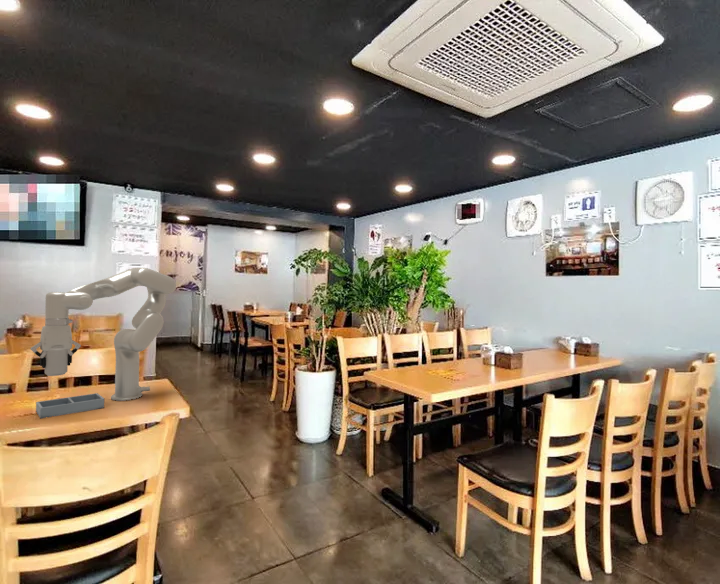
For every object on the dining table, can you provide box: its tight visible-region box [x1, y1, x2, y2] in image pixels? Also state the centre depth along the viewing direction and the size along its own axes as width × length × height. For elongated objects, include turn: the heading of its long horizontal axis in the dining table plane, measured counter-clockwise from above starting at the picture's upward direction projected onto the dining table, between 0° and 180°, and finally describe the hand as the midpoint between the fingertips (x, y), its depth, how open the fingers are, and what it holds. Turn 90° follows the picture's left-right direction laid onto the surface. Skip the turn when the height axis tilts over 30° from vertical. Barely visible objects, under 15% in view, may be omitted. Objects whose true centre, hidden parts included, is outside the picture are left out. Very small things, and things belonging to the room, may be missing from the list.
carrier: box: [35, 392, 105, 419], centre depth 169 cm, size 21×11×4 cm, turn 135°
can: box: [44, 346, 69, 377], centre depth 165 cm, size 8×8×12 cm
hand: (56, 366), depth 165 cm, fingers closed on can, 7 cm apart
